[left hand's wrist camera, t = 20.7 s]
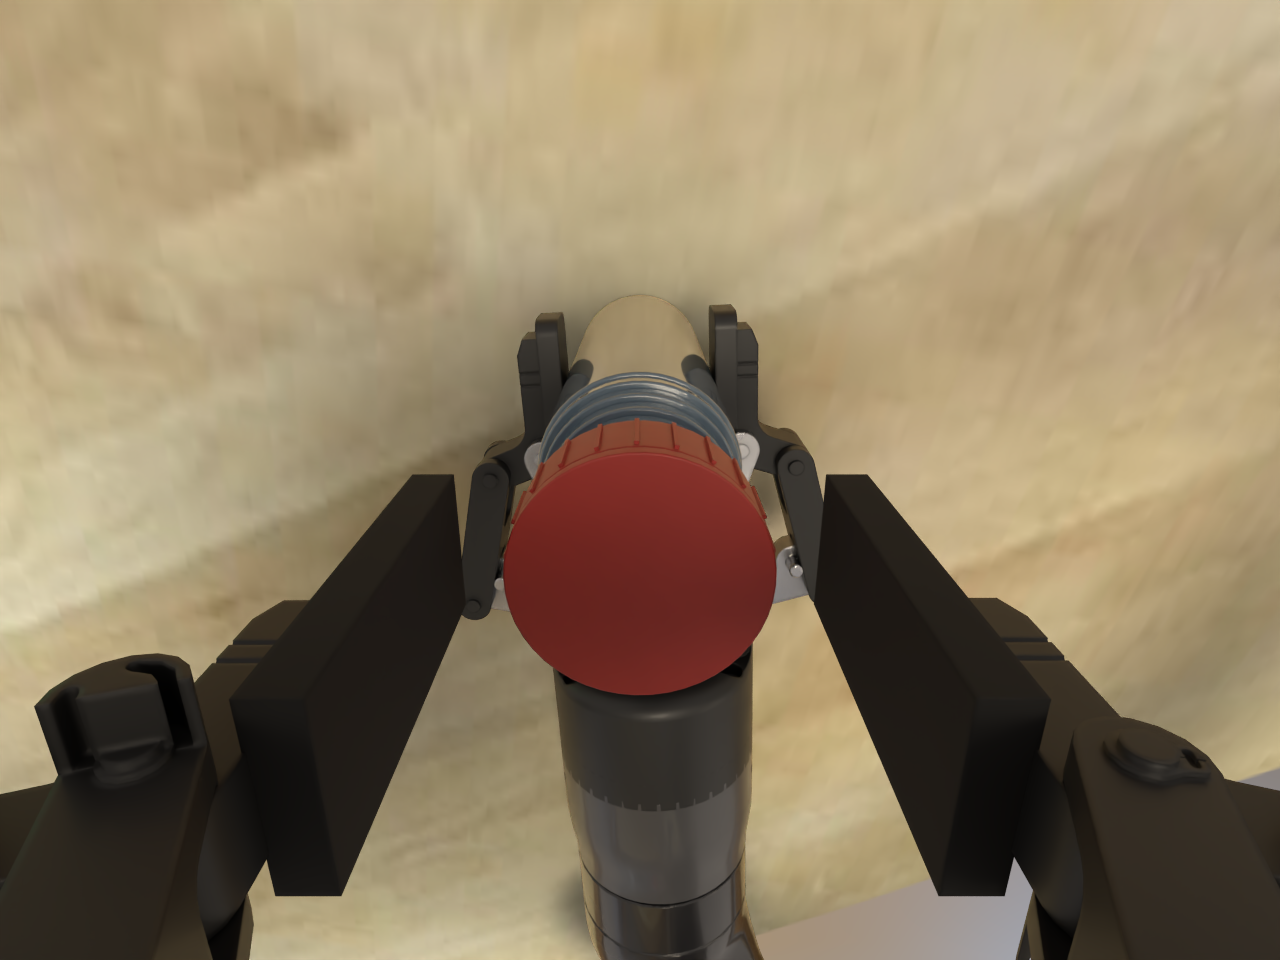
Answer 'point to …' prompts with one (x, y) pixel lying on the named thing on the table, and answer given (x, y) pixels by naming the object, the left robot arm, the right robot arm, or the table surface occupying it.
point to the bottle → (639, 377)
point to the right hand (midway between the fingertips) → (634, 314)
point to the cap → (639, 559)
